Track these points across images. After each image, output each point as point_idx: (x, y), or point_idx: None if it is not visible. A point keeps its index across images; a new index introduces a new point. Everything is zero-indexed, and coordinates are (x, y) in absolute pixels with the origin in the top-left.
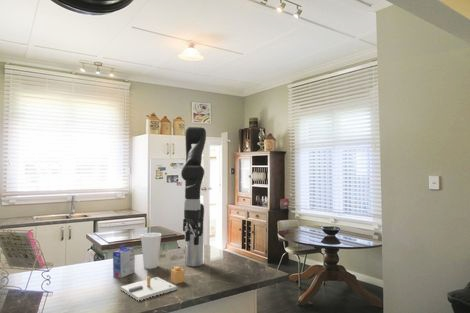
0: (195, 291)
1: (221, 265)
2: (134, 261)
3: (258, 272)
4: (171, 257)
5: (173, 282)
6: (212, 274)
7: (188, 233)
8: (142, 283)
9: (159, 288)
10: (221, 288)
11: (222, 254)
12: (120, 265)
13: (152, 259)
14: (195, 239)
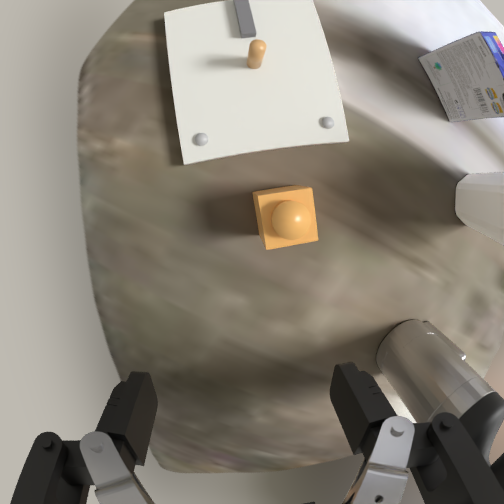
0: (131, 229)
1: (329, 411)
2: (477, 118)
3: (207, 451)
4: (484, 299)
5: (274, 188)
6: (270, 364)
7: (360, 443)
8: (303, 58)
9: (201, 90)
10: (120, 323)
11: None
12: (447, 45)
13: (478, 197)
14: (114, 417)
